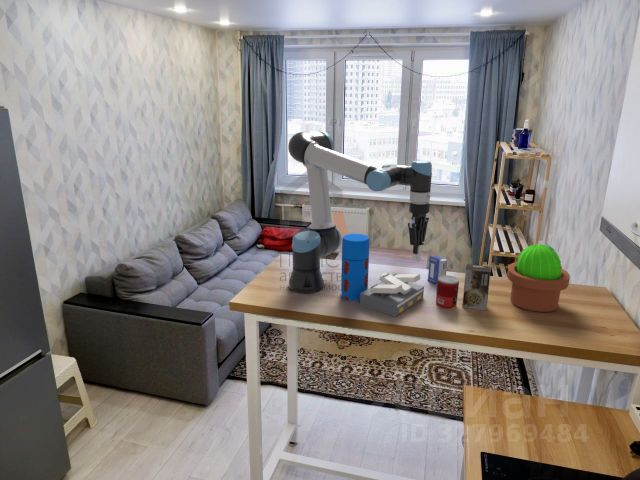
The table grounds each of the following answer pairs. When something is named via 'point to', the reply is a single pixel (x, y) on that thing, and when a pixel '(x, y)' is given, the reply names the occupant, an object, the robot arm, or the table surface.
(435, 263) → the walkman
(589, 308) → the table surface
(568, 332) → the table surface
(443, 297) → the canned food
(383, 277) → the rocker
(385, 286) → the rocker
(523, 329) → the table surface
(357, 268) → the thermos
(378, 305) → the switch unit
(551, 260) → the potted cactus
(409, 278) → the rocker
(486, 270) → the coffee box
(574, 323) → the table surface
